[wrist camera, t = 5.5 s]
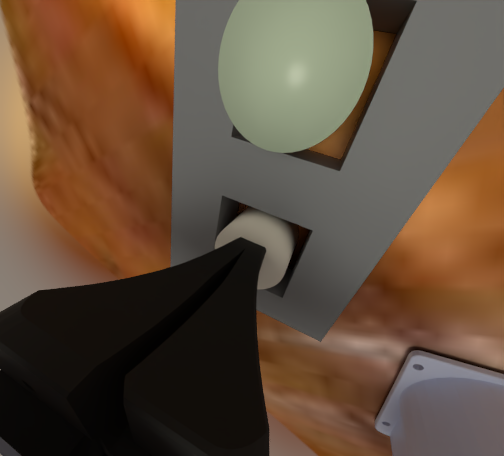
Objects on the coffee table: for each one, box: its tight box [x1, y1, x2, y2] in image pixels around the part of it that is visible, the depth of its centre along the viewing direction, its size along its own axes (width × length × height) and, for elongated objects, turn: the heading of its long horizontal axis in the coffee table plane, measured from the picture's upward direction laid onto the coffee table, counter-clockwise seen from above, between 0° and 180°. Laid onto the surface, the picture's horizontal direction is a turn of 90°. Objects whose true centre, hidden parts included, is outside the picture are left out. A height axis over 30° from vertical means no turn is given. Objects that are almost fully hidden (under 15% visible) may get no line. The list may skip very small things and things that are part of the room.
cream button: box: [215, 206, 299, 289], centre depth 11 cm, size 4×4×3 cm
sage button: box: [218, 0, 373, 153], centre depth 6 cm, size 4×4×3 cm
